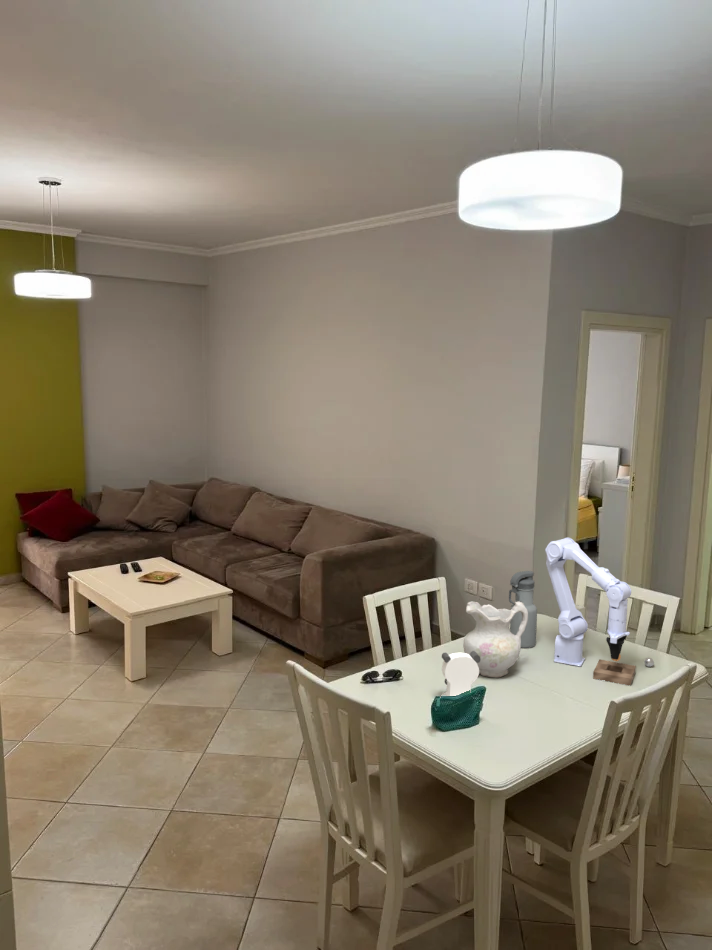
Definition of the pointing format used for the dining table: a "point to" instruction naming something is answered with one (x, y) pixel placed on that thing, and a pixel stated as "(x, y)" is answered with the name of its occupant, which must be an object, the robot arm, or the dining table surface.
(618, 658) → the ball
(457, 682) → the panda figurine
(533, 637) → the water bottle
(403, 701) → the dining table surface
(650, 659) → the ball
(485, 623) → the ceramic pitcher
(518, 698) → the dining table surface
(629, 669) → the hole plate
